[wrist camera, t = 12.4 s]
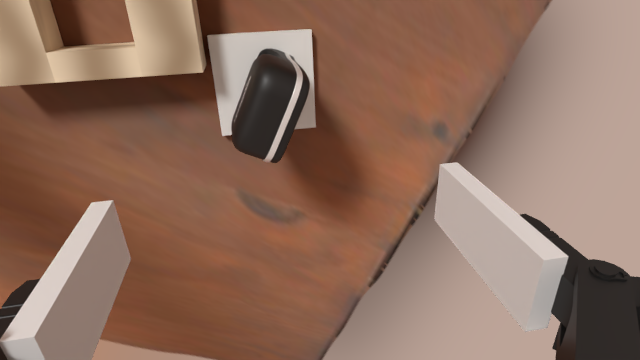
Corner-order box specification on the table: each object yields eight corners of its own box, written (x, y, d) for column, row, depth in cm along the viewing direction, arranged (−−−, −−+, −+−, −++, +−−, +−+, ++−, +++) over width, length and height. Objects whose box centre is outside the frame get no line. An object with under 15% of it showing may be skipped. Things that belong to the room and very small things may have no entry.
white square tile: (222, 133, 39) (222, 135, 38) (207, 34, 35) (207, 35, 34) (314, 124, 40) (315, 127, 40) (310, 29, 36) (311, 30, 36)
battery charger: (255, 36, 35) (260, 59, 25) (295, 54, 36) (316, 81, 26) (229, 109, 37) (224, 157, 27) (268, 123, 39) (276, 174, 29)
